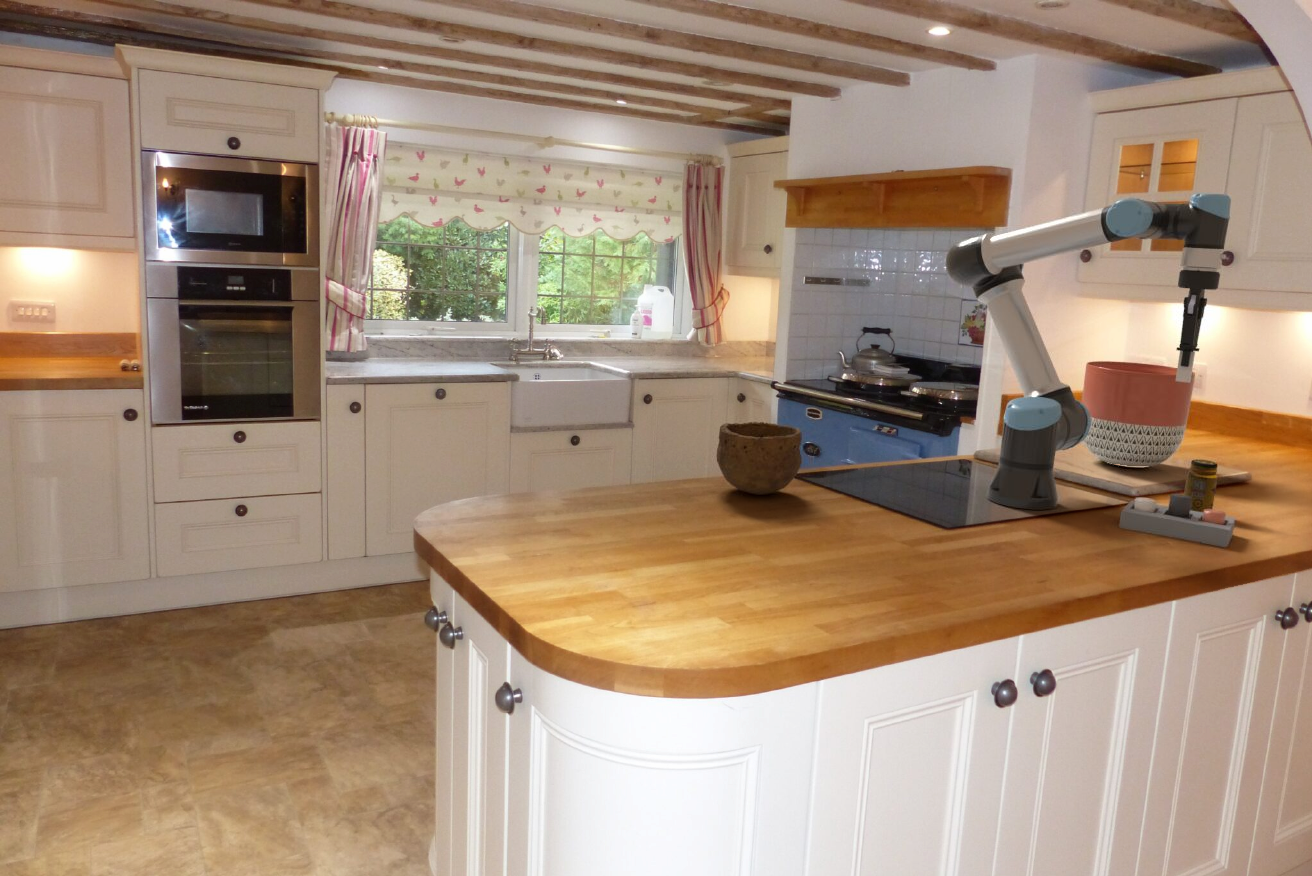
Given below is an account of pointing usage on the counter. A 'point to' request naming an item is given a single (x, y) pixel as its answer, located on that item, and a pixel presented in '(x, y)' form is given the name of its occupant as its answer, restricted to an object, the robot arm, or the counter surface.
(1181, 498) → the black button
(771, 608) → the counter surface
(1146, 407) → the planter
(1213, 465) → the condiment
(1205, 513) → the red button
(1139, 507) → the white button
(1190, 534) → the button board
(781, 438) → the bowl
